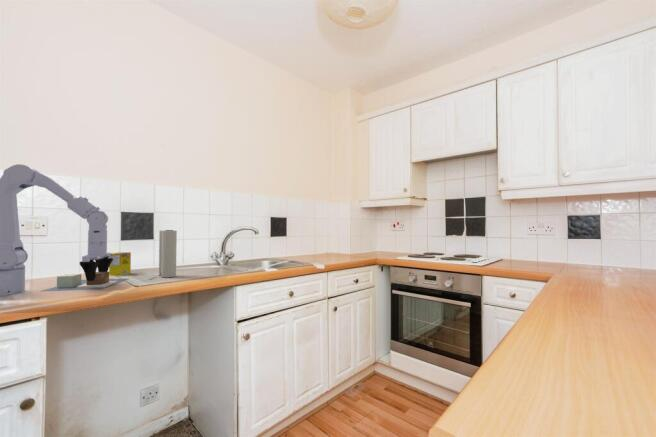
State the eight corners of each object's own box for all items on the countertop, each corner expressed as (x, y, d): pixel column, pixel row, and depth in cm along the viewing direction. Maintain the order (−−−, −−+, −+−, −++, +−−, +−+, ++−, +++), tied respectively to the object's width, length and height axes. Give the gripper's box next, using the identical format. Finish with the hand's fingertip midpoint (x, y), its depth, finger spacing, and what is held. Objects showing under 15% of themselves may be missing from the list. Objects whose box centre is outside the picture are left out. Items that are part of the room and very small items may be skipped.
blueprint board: (101, 292, 106) (102, 287, 106) (40, 294, 102) (40, 289, 102) (130, 280, 126) (130, 277, 126) (79, 282, 123) (79, 278, 123)
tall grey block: (177, 276, 137) (178, 230, 137) (163, 278, 133) (163, 230, 133) (173, 274, 142) (173, 229, 142) (158, 276, 138) (159, 230, 138)
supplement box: (130, 275, 140) (131, 252, 140) (120, 277, 134) (121, 253, 134) (119, 275, 141) (119, 252, 141) (108, 277, 135) (109, 253, 135)
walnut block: (101, 284, 111) (101, 273, 111) (86, 285, 110) (86, 274, 110) (109, 282, 116) (109, 271, 116) (94, 282, 115) (94, 272, 115)
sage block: (72, 287, 109) (72, 276, 109) (56, 287, 108) (57, 276, 108) (81, 284, 114) (81, 273, 114) (66, 284, 113) (66, 274, 113)
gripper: (98, 243, 106) (97, 282, 106) (119, 241, 121) (118, 275, 120) (75, 244, 105) (74, 282, 105) (99, 241, 119) (98, 275, 119)
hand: (96, 278), depth 113 cm, fingers open, 7 cm apart
